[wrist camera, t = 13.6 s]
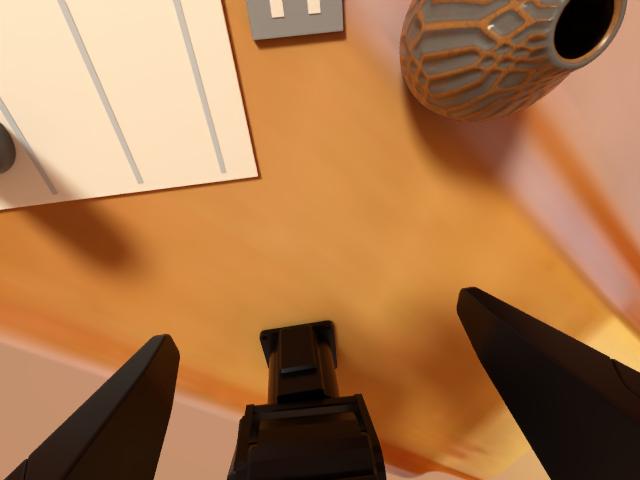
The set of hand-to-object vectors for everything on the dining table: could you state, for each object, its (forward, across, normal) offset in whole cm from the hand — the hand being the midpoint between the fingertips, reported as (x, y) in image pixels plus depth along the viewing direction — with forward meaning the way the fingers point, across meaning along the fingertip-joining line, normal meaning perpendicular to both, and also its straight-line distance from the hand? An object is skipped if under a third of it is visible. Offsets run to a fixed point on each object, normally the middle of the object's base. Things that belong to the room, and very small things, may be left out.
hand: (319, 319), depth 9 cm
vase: (+12, -9, -7) cm, 17 cm away
